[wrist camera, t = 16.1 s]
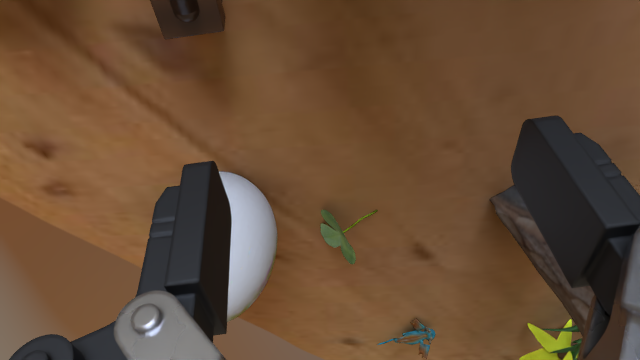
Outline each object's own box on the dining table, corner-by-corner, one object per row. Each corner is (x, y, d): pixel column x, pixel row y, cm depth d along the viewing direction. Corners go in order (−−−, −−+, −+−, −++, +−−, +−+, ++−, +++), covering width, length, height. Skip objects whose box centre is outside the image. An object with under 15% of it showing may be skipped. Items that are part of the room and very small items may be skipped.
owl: (592, 145, 52) (720, 304, 38) (612, 202, 60) (724, 351, 45) (486, 197, 56) (566, 356, 42) (518, 243, 64) (594, 391, 50)
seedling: (346, 188, 60) (306, 215, 57) (374, 180, 52) (329, 210, 50) (375, 234, 60) (336, 263, 58) (406, 233, 53) (363, 266, 50)
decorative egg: (196, 242, 56) (183, 362, 46) (140, 176, 48) (108, 304, 37) (290, 215, 55) (299, 333, 44) (249, 142, 46) (248, 266, 36)
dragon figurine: (410, 352, 83) (445, 352, 77) (381, 364, 78) (415, 364, 72) (401, 315, 84) (434, 312, 78) (372, 325, 80) (405, 322, 74)
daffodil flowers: (685, 291, 82) (521, 401, 85) (642, 229, 80) (476, 344, 84) (778, 340, 65) (569, 474, 69) (726, 263, 63) (514, 404, 67)
